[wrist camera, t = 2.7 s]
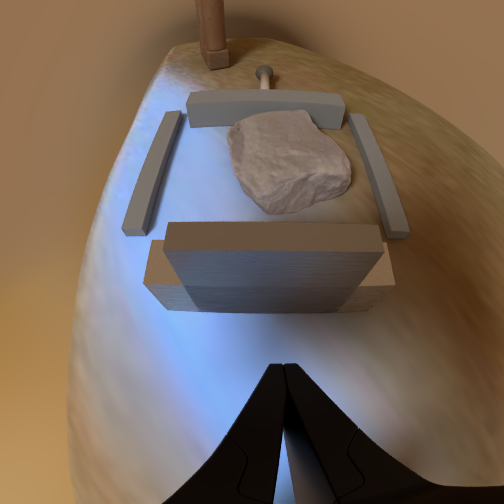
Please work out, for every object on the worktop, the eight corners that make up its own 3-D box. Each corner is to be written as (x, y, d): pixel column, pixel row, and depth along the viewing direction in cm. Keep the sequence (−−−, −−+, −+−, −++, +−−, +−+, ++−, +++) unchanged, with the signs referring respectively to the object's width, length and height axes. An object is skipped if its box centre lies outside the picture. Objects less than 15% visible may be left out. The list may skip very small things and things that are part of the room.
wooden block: (218, 51, 45) (212, -26, 29) (230, 67, 40) (224, -25, 24) (200, 54, 45) (192, -23, 29) (209, 71, 40) (199, -23, 24)
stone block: (262, 236, 25) (357, 194, 25) (250, 205, 21) (361, 159, 21) (224, 157, 31) (301, 127, 31) (211, 126, 27) (296, 94, 27)
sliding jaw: (367, 311, 20) (427, 252, 12) (167, 310, 20) (114, 249, 12) (362, 275, 21) (411, 203, 13) (172, 273, 21) (129, 200, 14)
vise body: (404, 238, 23) (421, 216, 20) (126, 236, 23) (110, 212, 20) (343, 85, 37) (346, 67, 34) (184, 83, 37) (181, 65, 34)
